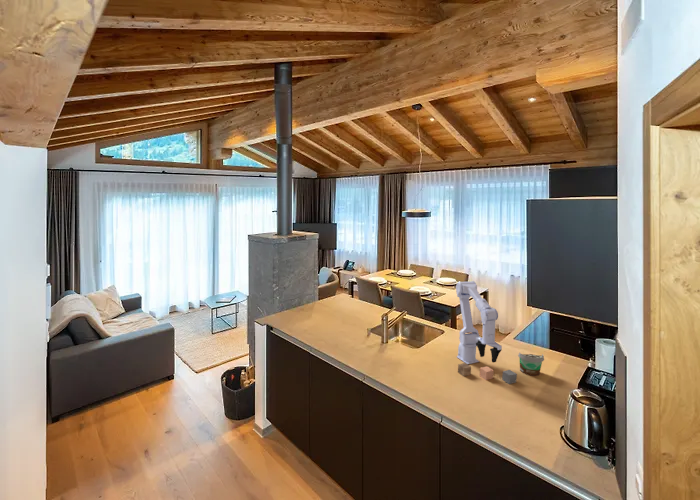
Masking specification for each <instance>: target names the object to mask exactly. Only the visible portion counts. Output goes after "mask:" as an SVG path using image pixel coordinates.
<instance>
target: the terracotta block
mask: <svg viewBox="0 0 700 500" xmlns="http://www.w3.org/2000/svg"><path fill="white" fill-rule="evenodd" d="M479 377H481V378H482V379H484V380H485V381H489V380H492V379H494V370H493V368H491V367H490V366H482V367H481V366H480V368H479Z"/></svg>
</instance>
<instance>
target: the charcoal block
mask: <svg viewBox="0 0 700 500" xmlns="http://www.w3.org/2000/svg"><path fill="white" fill-rule="evenodd" d="M501 377H502V378H501V379H502V381H504V382H505V383H507V384H508V385H512V384H515V383H517V377H518V374H517V373H516V372H514V371H513V370H511V369H508V370H502V376H501Z"/></svg>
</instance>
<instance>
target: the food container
mask: <svg viewBox="0 0 700 500" xmlns="http://www.w3.org/2000/svg"><path fill="white" fill-rule="evenodd" d="M517 356H518V358H519V371H520V372H521V373H522V374H524V375H527V376H532V377H538V376H539V375H540V372H541V369H542V365H543V362H544V361H545V357H544V356H545V355H544V354H543V353H542V354H541V355H539V354H531V353H529V354H524V353H521V352H519V353H518V355H517Z"/></svg>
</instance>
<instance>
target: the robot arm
mask: <svg viewBox="0 0 700 500" xmlns="http://www.w3.org/2000/svg"><path fill="white" fill-rule="evenodd" d="M455 290H456V296H457V298H459V304H460V312H461V318H462V325H463V328H461V329H460V331H459V344H458V349H457V350H458V351H457V355H456V358H458V359H459V360H461V362H462V363H466V364H468V365H470V364H475V363H479V362H480V360H478V359H477V358H476V355H477V350H478V352H479V357H480V358H483V357H485V355H486V354H485V353H486V348H487V347H486V346H489V347H491V348H490V355H491V362H492V363H497V359H498V357H499V355H500V353H501V351H503V350H502V347H503V346H502V345H500V344H499V343H498V342H496V340H495V339H496V321H497V320H499V319H498V318H499V312H498V311H497V309H496V308H494V307H491V305H490V304H489V303H488V301H487V300H486V299H485V298H483V297H482V296H481V294H480V293H479V291H478V284H477V283H476V281H474V280H471V281H458V282H457V283H456V285H455ZM470 298H472V299H473V301H474V302H475V307H476V308H477V310H478V311H479V312H480V318H481V323H482V337H481V336H480V333H479V330H478V329H477V328H476V327H474V324H473V323H474V322H473V318H472V311H471V310H472V309H471V303H470Z"/></svg>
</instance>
